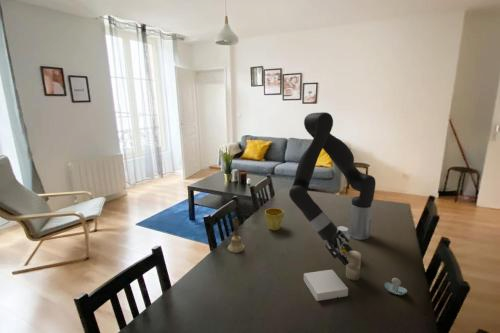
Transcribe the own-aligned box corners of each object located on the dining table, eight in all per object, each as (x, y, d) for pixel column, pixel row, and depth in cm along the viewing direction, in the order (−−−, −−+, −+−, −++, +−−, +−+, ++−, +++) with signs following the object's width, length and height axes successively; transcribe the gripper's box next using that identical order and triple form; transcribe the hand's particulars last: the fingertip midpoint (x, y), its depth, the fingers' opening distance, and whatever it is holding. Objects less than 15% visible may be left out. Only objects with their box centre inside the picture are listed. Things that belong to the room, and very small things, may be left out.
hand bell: (234, 242, 140) (234, 212, 136) (248, 247, 135) (247, 216, 132) (224, 249, 133) (223, 218, 130) (237, 254, 129) (237, 222, 125)
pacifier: (386, 283, 108) (382, 291, 103) (388, 269, 107) (384, 276, 102) (407, 291, 104) (405, 299, 99) (410, 276, 102) (407, 284, 98)
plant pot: (262, 230, 153) (262, 213, 150) (268, 222, 162) (268, 206, 160) (280, 233, 149) (280, 216, 146) (285, 225, 158) (285, 209, 156)
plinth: (331, 276, 113) (332, 269, 112) (347, 295, 101) (348, 288, 100) (303, 280, 110) (303, 273, 109) (316, 301, 99) (317, 293, 98)
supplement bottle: (340, 259, 124) (342, 233, 121) (330, 252, 130) (331, 227, 127) (351, 255, 127) (353, 229, 124) (340, 249, 133) (342, 224, 130)
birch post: (354, 271, 115) (356, 249, 113) (361, 279, 110) (364, 256, 108) (343, 273, 114) (344, 251, 112) (349, 281, 109) (351, 258, 107)
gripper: (324, 227, 107) (352, 263, 103) (335, 215, 118) (361, 247, 115) (310, 236, 111) (337, 271, 107) (322, 223, 123) (347, 254, 119)
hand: (349, 259), depth 111 cm, fingers open, 8 cm apart
